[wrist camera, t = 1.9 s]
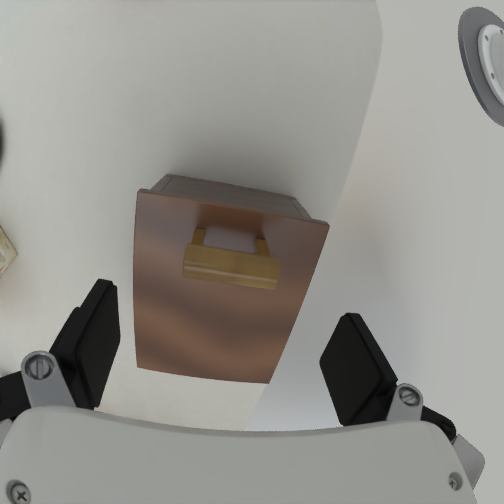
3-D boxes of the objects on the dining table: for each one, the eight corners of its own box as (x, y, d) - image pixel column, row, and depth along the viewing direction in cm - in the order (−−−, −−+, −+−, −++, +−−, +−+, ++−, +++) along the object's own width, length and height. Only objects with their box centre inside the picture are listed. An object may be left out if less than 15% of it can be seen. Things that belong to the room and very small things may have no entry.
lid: (140, 188, 17) (110, 215, 12) (326, 221, 19) (357, 257, 14) (138, 361, 24) (127, 406, 19) (268, 377, 26) (275, 422, 21)
